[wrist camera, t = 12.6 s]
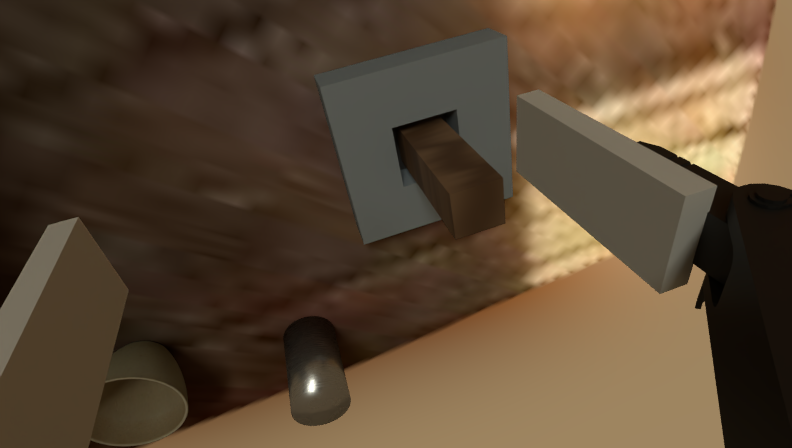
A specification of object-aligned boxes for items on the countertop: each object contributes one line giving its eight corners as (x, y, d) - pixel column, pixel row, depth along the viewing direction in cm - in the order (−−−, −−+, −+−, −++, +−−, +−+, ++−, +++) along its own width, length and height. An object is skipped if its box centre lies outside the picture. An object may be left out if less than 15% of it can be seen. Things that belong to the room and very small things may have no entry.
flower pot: (154, 308, 47) (143, 362, 41) (212, 362, 53) (208, 416, 47) (65, 351, 46) (40, 412, 41) (132, 401, 52) (119, 460, 47)
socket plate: (356, 225, 48) (364, 244, 45) (313, 75, 39) (319, 87, 36) (497, 181, 50) (512, 196, 47) (488, 28, 41) (506, 36, 38)
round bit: (292, 359, 56) (301, 432, 48) (276, 326, 52) (283, 400, 44) (339, 343, 57) (356, 412, 49) (327, 309, 53) (342, 378, 45)
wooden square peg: (401, 160, 45) (455, 239, 34) (394, 123, 43) (449, 194, 31) (439, 149, 46) (505, 223, 34) (434, 111, 43) (503, 177, 32)
